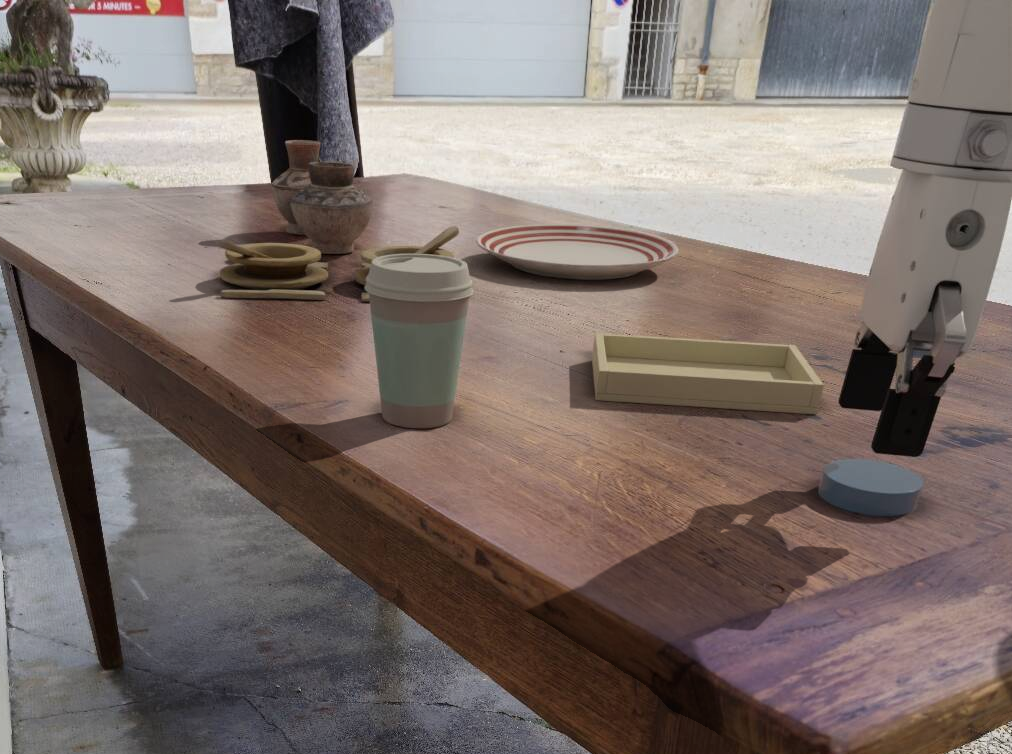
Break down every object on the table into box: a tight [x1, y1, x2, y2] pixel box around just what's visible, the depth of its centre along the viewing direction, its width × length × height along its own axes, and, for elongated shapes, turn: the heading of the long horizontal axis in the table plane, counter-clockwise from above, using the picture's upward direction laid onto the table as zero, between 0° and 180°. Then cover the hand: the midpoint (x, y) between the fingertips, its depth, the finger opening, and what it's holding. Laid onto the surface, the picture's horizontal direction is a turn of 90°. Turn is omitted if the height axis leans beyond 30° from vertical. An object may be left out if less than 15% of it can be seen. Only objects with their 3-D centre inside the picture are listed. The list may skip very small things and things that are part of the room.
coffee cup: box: [364, 254, 475, 430], centre depth 84 cm, size 8×8×12 cm
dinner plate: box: [476, 223, 679, 281], centre depth 143 cm, size 28×27×3 cm
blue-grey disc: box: [817, 458, 924, 517], centre depth 74 cm, size 7×7×2 cm
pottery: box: [270, 139, 374, 255], centre depth 148 cm, size 11×25×12 cm, turn 22°
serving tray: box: [591, 332, 825, 415], centre depth 97 cm, size 20×14×3 cm
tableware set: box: [218, 225, 460, 303], centre depth 127 cm, size 30×20×6 cm, turn 95°
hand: (876, 429), depth 72 cm, fingers open, 9 cm apart
